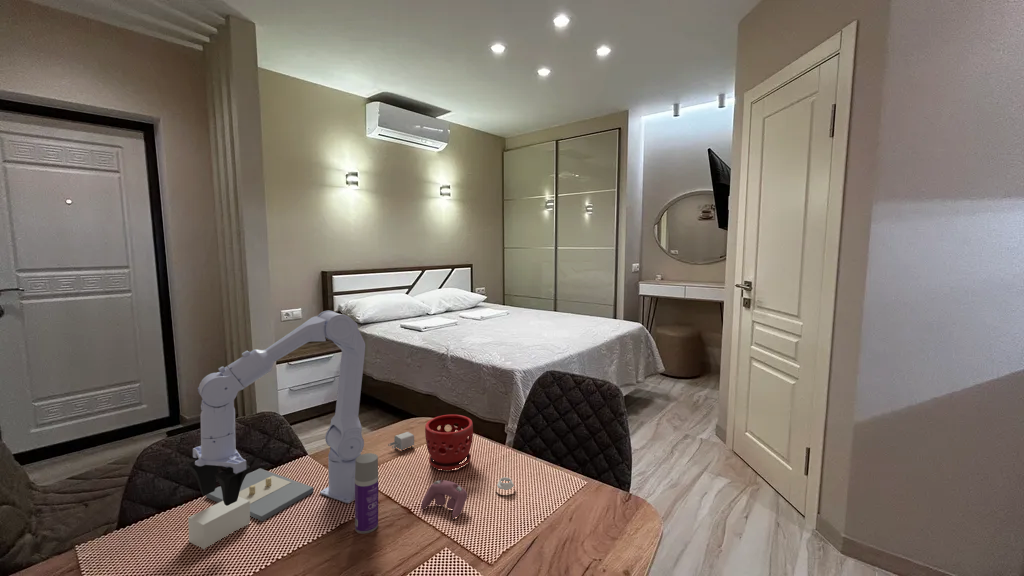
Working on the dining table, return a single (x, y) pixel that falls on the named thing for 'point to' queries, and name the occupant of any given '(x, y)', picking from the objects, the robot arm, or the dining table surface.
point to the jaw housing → (218, 522)
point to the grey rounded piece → (505, 485)
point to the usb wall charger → (403, 440)
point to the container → (366, 493)
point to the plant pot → (449, 441)
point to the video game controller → (449, 489)
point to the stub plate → (267, 493)
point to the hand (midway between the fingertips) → (219, 497)
